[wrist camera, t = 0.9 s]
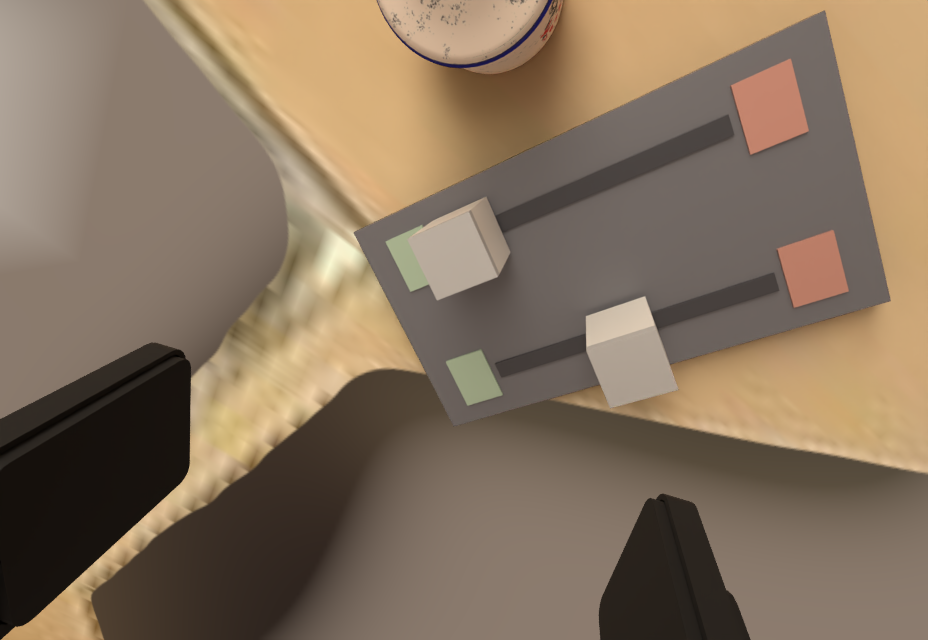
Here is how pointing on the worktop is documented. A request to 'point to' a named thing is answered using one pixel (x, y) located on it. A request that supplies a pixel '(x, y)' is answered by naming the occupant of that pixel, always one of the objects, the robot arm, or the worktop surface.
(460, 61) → the teacup with lid
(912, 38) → the worktop surface
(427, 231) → the on switch
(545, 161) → the panel
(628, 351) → the beige slider knob
